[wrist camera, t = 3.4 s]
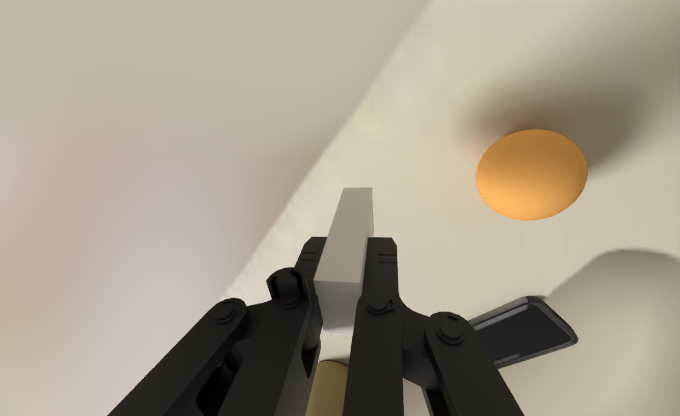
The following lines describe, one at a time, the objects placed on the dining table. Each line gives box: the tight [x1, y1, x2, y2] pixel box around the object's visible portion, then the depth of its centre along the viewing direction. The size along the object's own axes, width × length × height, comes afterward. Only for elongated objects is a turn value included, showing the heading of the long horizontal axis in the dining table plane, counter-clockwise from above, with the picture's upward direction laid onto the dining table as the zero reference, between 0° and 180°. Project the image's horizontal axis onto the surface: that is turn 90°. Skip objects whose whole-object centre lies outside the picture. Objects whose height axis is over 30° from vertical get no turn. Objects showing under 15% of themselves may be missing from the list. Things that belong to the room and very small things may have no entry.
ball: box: [476, 129, 588, 220], centre depth 16 cm, size 6×6×6 cm
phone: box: [468, 296, 578, 369], centre depth 28 cm, size 8×1×15 cm
